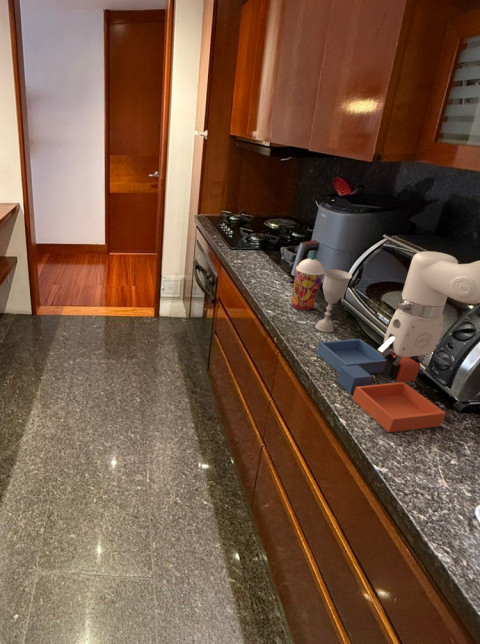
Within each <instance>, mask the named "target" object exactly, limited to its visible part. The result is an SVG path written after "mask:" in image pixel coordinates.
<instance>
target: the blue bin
mask: <svg viewBox="0 0 480 644" xmlns="http://www.w3.org/2000/svg"><path fill="white" fill-rule="evenodd" d="M316 355H318V356H319V357H320V358H321V359H323V360H324V361H325V362H326V363H327V364H329V365H330V366H331V367H332V368H333V369H334V370H335V371H337V372H338V373H339V372H340V368H341V367H342V366H352V365H358V366H360V367H361V368H362V369H363V370H365V371H366V372H367V373H368V374H370V375H371V374H380V373H383V369H384V366H385V362H386V359H384V357H383V355H381V354H380V353H379V352H378V349H375V348H374V347H373V346H371V345H370V344H368V343H367V342H365V341H364V340H362V339H361V338H355V339H354V338H353V339H343V340H341V339H340V340H331V341H320V342H319V343H318V346H317V350H316Z"/></svg>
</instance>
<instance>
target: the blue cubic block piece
mask: <svg viewBox="0 0 480 644" xmlns="http://www.w3.org/2000/svg"><path fill="white" fill-rule="evenodd" d="M372 379H373V376H372V375H371V374H368V373H367V372H366V371H365V370H363V369H362V368H361V367H360V366H358V365H352V366H342V367H341V368H340V372H338V376H337V379H336V383H337V384H338V385H340V386H341V387H342V388H343V389H344V390H345V391H346V392H347V393H349V394H350V395H351V394H354V391H355V388H356V387H359V386H369V385H371V382H372Z"/></svg>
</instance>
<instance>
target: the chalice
mask: <svg viewBox="0 0 480 644" xmlns="http://www.w3.org/2000/svg"><path fill="white" fill-rule="evenodd" d="M352 277H353V275H352V274H350V273H349V272H347V271H344V270H341V269H335V268H334V269H332V268H329V269H324V279H323V283H322V291H323V295H324V296H323V297H324V300H325V302H326V303H327V306H326V307H325V308H326V312H324V315H325V316H324V318H322V319H320V320H318V322H316V324H315V325H314V327H315V329H316V330H318V331H320V332H323V333H333V332H335V331H334V330H335V329H334V326H333V322H332V321H331V320H330V319H329V318H330V316H332V314H331V311H332V310H333V308H332V307H333V305H334V304H337V303H338V302H339V301H340V300H341V299H342V298H343V296H344V295H345V293H346V292H347V289H348V285H349V281H350V280H351V279H352Z"/></svg>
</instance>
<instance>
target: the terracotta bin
mask: <svg viewBox="0 0 480 644" xmlns="http://www.w3.org/2000/svg"><path fill="white" fill-rule="evenodd" d="M352 394H353V395H352V398H351V399H352V400H353V401H354V403H356V404H357V405H358V406H359V407H360V408H361V409H363V411H365V412H366V413H367V414H368V415H369V416H370V417H371V418H372V419H373V420H375V422H377V423H378V424H379V425H380V426H381V427H382V428H383V429H384V430H385V431H387V433H394V432H395V433H396V432H404V431H412V430H420V429H427V428H429V429H430V428H435V427H437V428H438V427H441V426H442V424H443V422H444V420H445V417H446V415H447V413H446V411H444V410H443V409H441V408H440V407H438V406H437V405H436V404H435V403H433V402H431V401H430V400H429V399H428V398H427V397H425V396H424V395H422V394H421V393H420V392H418V391H417V390H416V389H414V388H412V386H410V385H409V384H407V382H389V383H380V384H378V383H377V384H370V385H369V386H359V387H356V388H355V391H354V393H352Z"/></svg>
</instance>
